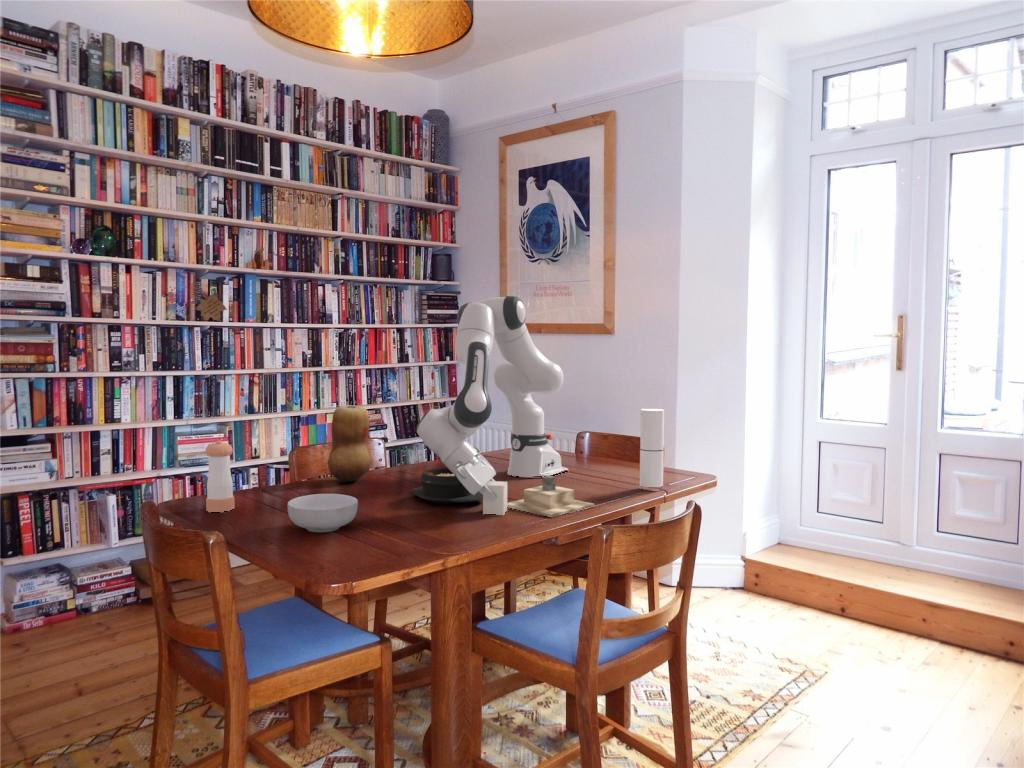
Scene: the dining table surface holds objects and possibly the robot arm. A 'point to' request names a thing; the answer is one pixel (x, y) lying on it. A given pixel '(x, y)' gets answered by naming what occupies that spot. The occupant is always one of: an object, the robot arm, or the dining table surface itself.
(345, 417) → the butternut squash
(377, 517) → the dining table surface
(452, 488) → the casserole
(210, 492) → the salt shaker
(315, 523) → the cereal bowl
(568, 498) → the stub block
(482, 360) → the robot arm
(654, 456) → the cylindrical container
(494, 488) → the upright ivory block
